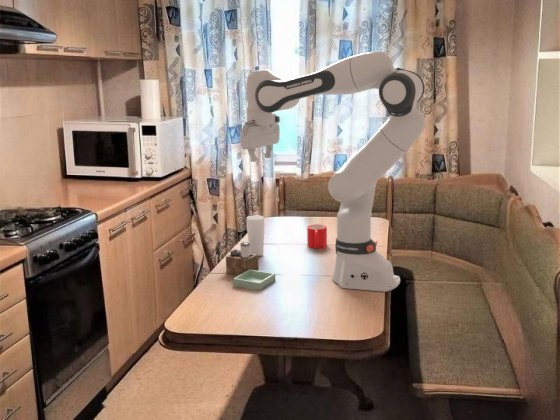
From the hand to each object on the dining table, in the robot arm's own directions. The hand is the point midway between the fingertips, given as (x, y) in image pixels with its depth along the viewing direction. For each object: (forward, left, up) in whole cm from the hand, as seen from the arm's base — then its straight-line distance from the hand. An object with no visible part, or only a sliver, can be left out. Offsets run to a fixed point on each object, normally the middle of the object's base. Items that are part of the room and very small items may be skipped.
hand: (261, 159), depth 199 cm
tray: (-4, +14, -40) cm, 42 cm away
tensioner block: (+6, +6, -40) cm, 40 cm away
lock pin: (+4, +6, -40) cm, 40 cm away
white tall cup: (+11, -13, -40) cm, 43 cm away
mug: (-6, -32, -40) cm, 51 cm away
